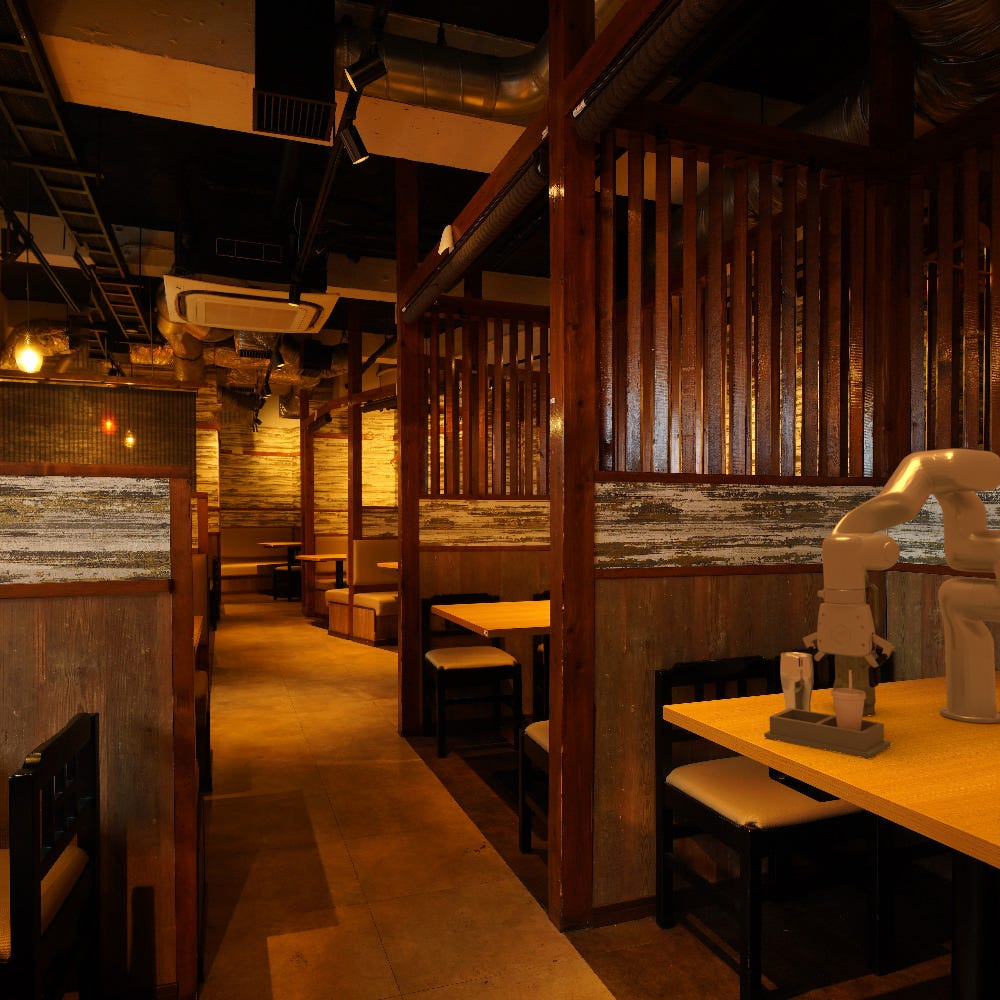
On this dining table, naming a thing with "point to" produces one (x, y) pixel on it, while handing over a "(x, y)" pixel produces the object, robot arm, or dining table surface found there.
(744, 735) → the dining table surface
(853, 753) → the drink carrier
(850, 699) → the smoothie
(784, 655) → the beer glass
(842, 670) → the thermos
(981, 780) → the dining table surface
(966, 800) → the dining table surface
